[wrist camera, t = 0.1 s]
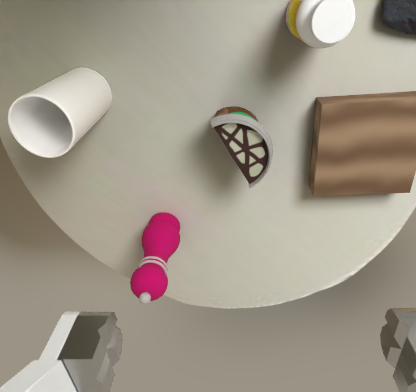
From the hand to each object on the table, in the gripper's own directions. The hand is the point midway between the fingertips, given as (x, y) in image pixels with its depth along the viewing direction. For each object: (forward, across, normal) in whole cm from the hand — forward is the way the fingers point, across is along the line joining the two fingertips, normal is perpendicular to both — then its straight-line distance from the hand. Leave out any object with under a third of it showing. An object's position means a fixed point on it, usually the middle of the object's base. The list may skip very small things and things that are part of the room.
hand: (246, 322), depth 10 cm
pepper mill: (+48, +15, +31) cm, 60 cm away
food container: (+48, -2, +11) cm, 50 cm away
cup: (+48, +24, +4) cm, 54 cm away
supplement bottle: (+48, -11, -5) cm, 50 cm away
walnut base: (+48, -21, +15) cm, 55 cm away
